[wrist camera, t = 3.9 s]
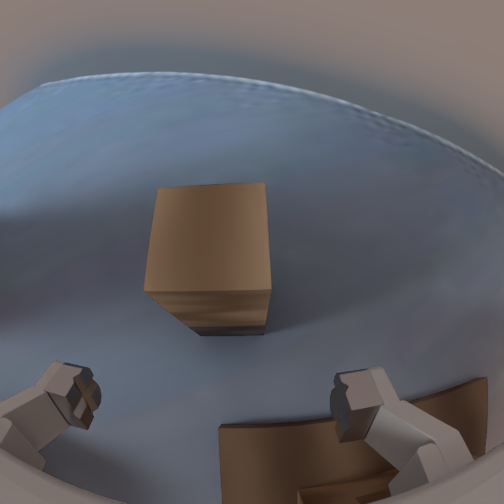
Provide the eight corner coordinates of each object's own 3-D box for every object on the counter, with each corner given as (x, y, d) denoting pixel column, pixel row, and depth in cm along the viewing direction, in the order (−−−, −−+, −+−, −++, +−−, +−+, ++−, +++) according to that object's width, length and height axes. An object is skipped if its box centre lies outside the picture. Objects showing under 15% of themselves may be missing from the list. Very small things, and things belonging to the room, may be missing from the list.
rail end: (200, 335, 19) (143, 291, 9) (201, 277, 21) (158, 188, 11) (263, 335, 19) (271, 289, 9) (261, 275, 21) (264, 182, 11)
